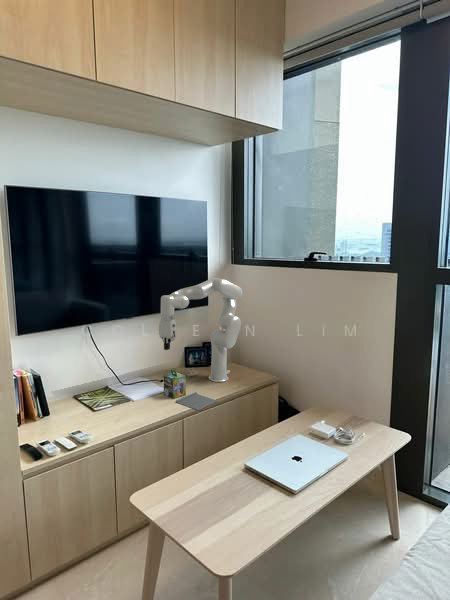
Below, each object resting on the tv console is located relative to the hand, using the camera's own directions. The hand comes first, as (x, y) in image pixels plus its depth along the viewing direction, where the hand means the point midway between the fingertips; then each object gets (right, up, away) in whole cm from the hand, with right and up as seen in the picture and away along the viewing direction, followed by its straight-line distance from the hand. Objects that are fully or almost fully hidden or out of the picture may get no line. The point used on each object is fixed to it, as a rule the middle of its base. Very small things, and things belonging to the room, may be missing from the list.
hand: (166, 349), depth 227 cm
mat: (+18, -27, -10) cm, 34 cm away
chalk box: (+4, -26, -1) cm, 26 cm away
